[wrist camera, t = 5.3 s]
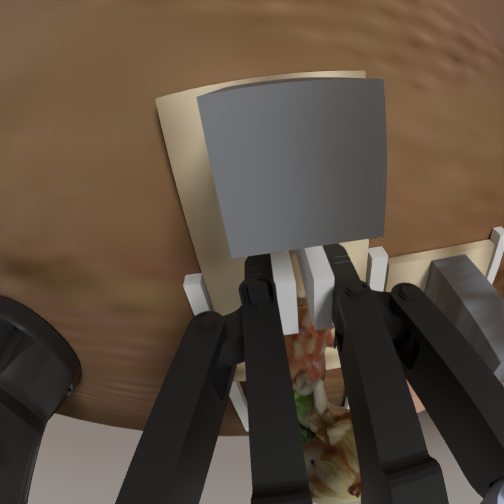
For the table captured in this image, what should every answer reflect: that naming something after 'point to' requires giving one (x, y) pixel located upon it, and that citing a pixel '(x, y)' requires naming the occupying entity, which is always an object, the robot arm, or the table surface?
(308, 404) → the figurine
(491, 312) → the strip
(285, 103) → the strip
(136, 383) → the table surface
